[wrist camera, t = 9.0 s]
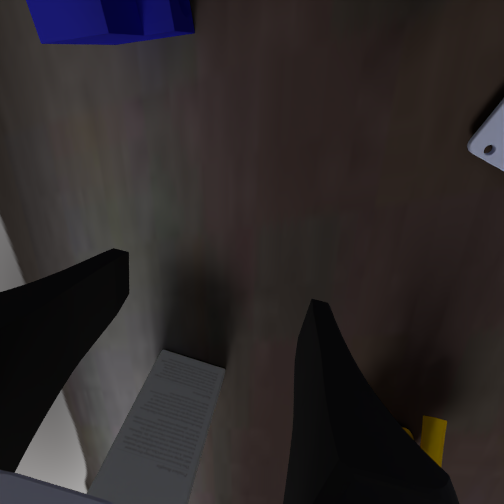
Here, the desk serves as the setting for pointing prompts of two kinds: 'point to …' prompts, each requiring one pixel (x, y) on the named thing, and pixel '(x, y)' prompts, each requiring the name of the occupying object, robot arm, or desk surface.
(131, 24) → the cable clip
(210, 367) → the skincare box
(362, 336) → the desk surface
